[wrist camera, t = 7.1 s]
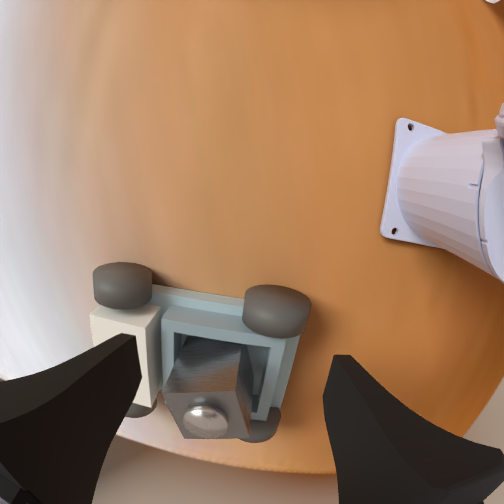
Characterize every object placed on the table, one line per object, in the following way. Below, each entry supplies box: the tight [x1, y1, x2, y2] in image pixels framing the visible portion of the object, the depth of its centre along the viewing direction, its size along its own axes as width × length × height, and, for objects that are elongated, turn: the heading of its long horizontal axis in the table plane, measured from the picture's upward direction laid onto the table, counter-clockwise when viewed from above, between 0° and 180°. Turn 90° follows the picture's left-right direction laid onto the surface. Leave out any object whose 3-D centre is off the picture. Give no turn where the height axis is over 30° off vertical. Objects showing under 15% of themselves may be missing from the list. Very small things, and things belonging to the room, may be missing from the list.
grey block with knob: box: [162, 336, 254, 439], centre depth 17 cm, size 4×4×7 cm
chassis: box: [89, 262, 311, 443], centre depth 19 cm, size 14×12×4 cm
